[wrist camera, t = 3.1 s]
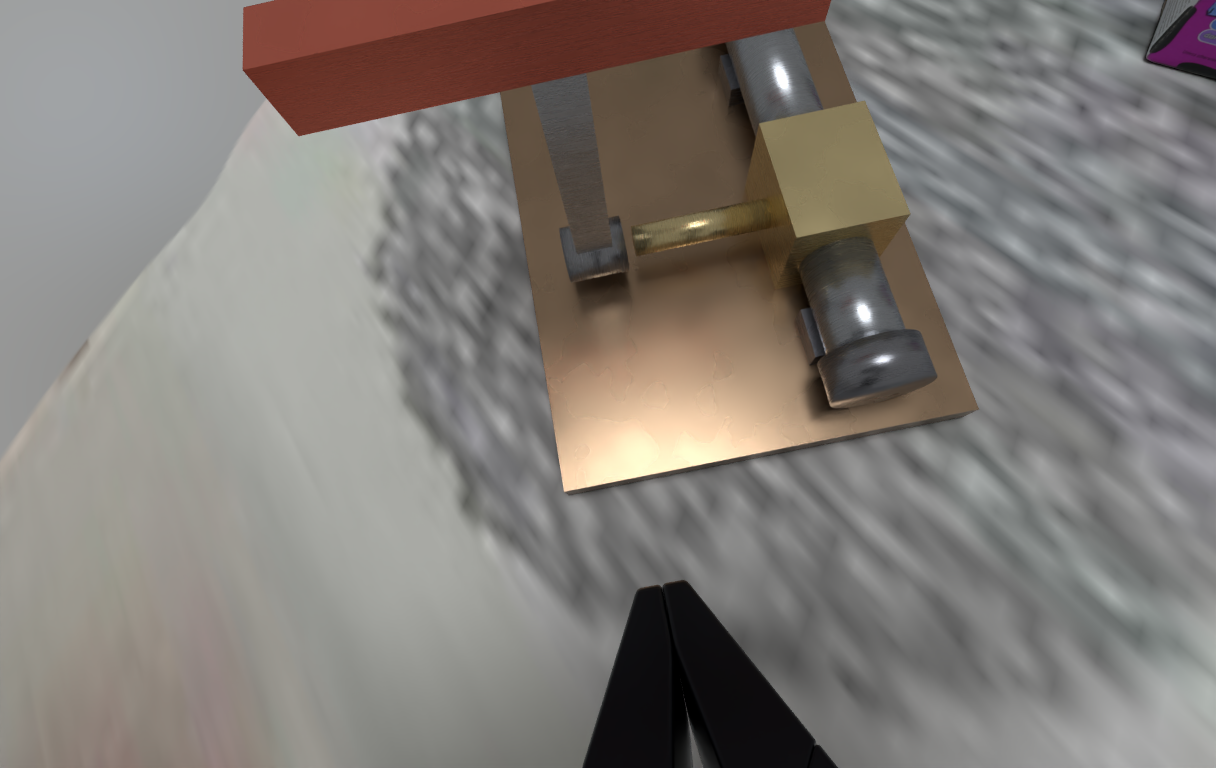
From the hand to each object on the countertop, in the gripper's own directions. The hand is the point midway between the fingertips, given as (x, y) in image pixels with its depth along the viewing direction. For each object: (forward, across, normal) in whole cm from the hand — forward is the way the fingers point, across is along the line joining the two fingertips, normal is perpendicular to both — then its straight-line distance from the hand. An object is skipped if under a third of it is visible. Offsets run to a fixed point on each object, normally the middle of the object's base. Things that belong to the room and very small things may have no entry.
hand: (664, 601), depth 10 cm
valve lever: (+17, 0, -1) cm, 17 cm away
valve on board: (+20, -5, -1) cm, 20 cm away
